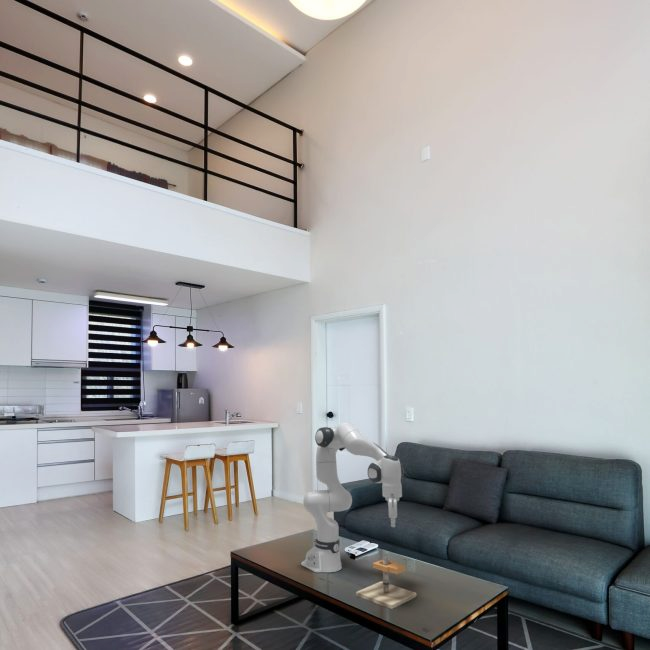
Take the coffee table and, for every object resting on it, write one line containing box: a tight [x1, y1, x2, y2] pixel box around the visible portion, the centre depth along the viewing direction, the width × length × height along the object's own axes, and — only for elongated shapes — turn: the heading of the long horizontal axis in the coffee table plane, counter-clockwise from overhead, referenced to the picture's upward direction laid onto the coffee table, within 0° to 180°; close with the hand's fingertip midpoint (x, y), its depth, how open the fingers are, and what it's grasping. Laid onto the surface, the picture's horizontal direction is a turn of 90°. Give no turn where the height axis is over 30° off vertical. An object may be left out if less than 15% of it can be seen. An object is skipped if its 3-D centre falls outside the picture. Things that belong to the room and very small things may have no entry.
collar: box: [372, 558, 406, 575], centre depth 223 cm, size 12×8×2 cm, turn 45°
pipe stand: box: [355, 554, 417, 610], centre depth 224 cm, size 20×18×17 cm
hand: (393, 524), depth 226 cm, fingers open, 8 cm apart
